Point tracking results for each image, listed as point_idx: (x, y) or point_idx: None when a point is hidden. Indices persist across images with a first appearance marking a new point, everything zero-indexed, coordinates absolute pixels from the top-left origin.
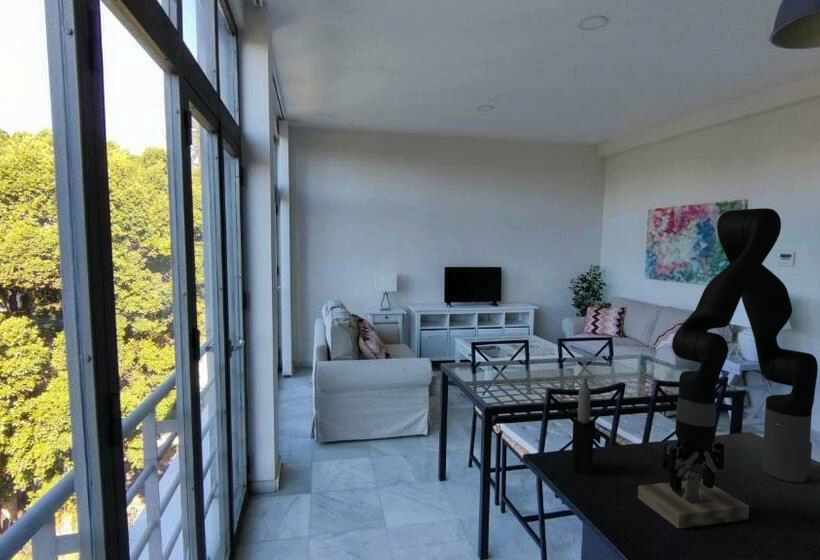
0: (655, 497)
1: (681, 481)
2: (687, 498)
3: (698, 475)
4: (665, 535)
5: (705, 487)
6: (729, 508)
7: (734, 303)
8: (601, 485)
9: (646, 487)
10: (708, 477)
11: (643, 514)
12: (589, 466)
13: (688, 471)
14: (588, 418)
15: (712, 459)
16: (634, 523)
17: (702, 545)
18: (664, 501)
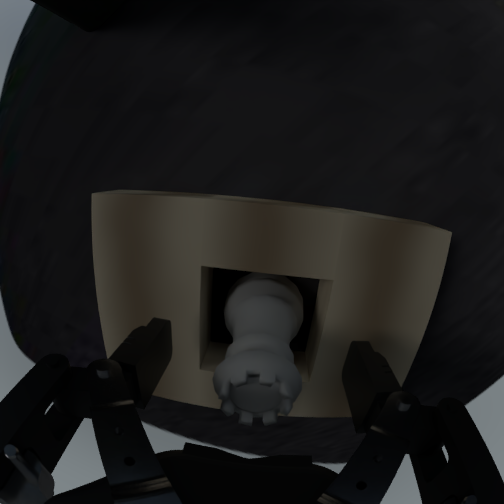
0: (97, 291)
1: (151, 390)
2: (231, 330)
3: (285, 410)
4: (88, 358)
5: (391, 298)
6: (312, 416)
7: None
8: (74, 93)
9: (111, 216)
10: (354, 399)
11: (82, 277)
12: (72, 20)
13: (260, 377)
14: None
15: (445, 436)
16: (48, 298)
17: (146, 408)
18: (112, 323)
